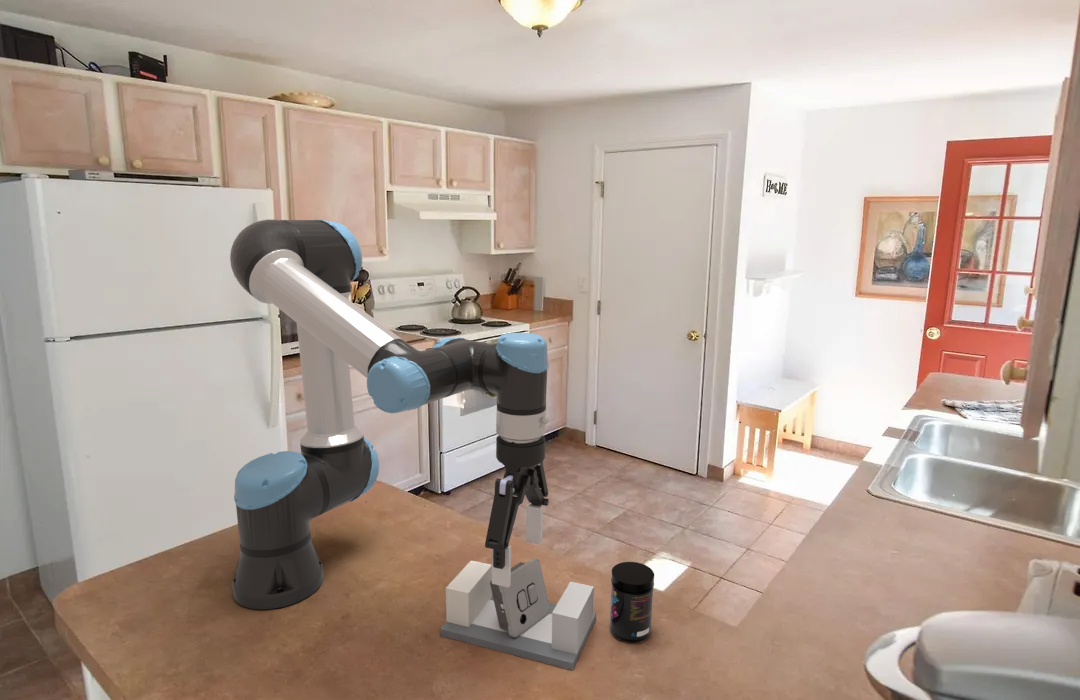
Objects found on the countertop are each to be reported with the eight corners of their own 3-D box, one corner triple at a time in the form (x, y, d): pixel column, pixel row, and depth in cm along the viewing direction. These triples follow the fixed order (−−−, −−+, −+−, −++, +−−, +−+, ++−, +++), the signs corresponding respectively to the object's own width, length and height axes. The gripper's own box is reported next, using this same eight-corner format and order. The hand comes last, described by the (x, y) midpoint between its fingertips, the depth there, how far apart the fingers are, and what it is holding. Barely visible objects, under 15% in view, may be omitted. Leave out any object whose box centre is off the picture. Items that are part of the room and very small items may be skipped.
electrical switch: (514, 641, 96) (509, 584, 95) (489, 630, 100) (485, 575, 98) (551, 612, 104) (547, 560, 102) (527, 603, 107) (523, 552, 106)
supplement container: (630, 613, 106) (632, 557, 103) (660, 634, 100) (663, 575, 98) (600, 628, 102) (602, 570, 100) (630, 651, 96) (633, 589, 94)
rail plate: (440, 635, 99) (439, 594, 98) (476, 591, 111) (476, 554, 110) (572, 670, 92) (573, 626, 90) (595, 619, 104) (597, 580, 102)
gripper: (511, 468, 82) (509, 611, 87) (569, 415, 105) (565, 530, 110) (461, 459, 85) (461, 599, 89) (527, 409, 108) (525, 523, 112)
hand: (518, 562), depth 100 cm, fingers open, 13 cm apart
